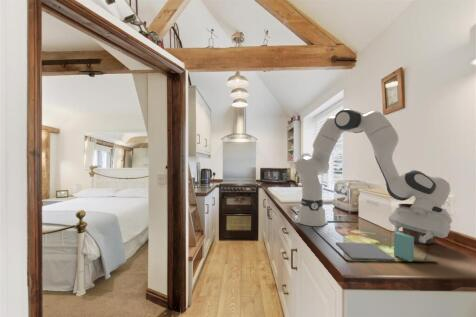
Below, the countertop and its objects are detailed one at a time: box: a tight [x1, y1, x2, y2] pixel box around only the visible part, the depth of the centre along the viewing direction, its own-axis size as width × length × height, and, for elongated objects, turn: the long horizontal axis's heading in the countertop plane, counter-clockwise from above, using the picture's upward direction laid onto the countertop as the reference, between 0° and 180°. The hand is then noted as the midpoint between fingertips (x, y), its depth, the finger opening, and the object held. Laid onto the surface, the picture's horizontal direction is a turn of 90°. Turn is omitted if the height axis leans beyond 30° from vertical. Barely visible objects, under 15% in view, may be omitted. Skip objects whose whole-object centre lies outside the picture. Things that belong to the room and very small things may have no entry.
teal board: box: [393, 232, 415, 262], centre depth 91 cm, size 2×6×9 cm, turn 22°
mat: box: [335, 241, 396, 261], centre depth 96 cm, size 16×16×1 cm
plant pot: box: [398, 203, 437, 245], centre depth 112 cm, size 16×16×16 cm
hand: (408, 237), depth 92 cm, fingers open, 8 cm apart
